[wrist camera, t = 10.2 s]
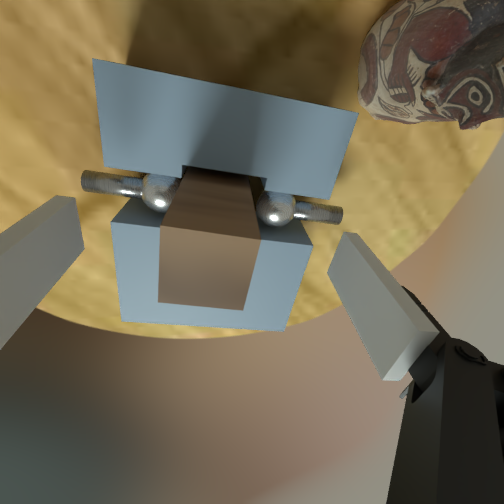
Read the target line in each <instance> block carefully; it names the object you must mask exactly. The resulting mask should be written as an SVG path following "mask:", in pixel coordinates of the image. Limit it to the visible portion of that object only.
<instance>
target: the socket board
mask: <svg viewBox="0 0 504 504" xmlns="http://www.w3.org/2000/svg"><path fill="white" fill-rule="evenodd" d="M92 61H93V70H94V79H95V88H96V97H97V106H98V115H99V124H100V132H101V141H102V150H103V159H104V167H111V168H117V169H124V170H131V171H138V172H145V173H151V174H158V175H165V176H172V177H178V178H182V176H183V174H184V172H185V170H186V168H187V166H194V167H200V168H206V169H213V170H219V171H226V172H232V173H239V174H245V175H251V176H258V177H260V178H261V181H262V184H263V187H264V190H266V191H273V192H280V193H287V194H294V195H300V196H307V197H314V198H321V199H327V200H329V199H330V196H331V193H332V190H333V187H334V184H335V181H336V178H337V175H338V172H339V170H340V167H341V164H342V161H343V158H344V155H345V152H346V149H347V146H348V143H349V140H350V138H351V135H352V132H353V129H354V126H355V123H356V120H357V117H358V114H359V113H356V112H352V111H347V110H343V109H338V108H334V107H329V106H324V105H319V104H315V103H310V102H305V101H300V100H295V99H290V98H285V97H281V96H276V95H271V94H266V93H261V92H256V91H251V90H247V89H242V88H237V87H232V86H227V85H222V84H217V83H213V82H208V81H203V80H198V79H193V78H188V77H183V76H179V75H174V74H169V73H164V72H159V71H154V70H149V69H145V68H140V67H135V66H130V65H125V64H120V63H115V62H109V61H104V60H99V59H93V58H92ZM255 212H256V211H255ZM165 214H166V213H159V212H156V211H153V210H152V209H150V208H149V207H148V206H147V205H146V204H145V203H144V201H143V200H142V199H139V198H131V199H130V200H129V201H128V202H127V203H126V204H125V206H124V207H123V208H122V209H121V210H120V211H119V213H118V214H117V215H116V216H115V217H114V218H113V220H112V221H111V231H112V240H113V249H114V258H115V267H116V276H117V285H118V293H119V302H120V311H121V320H122V321H125V322H141V323H157V324H172V325H188V326H204V327H220V328H235V329H251V330H267V331H283V332H284V329H285V327H286V324H287V321H288V318H289V315H290V312H291V309H292V306H293V303H294V300H295V298H296V295H297V292H298V289H299V286H300V283H301V280H302V277H303V274H304V271H305V268H306V266H307V263H308V260H309V257H310V254H311V251H312V248H313V244H312V242H311V241H310V239H309V237H308V235H307V233H306V231H305V229H304V227H303V225H302V223H301V221H300V220H297V219H292V220H291V221H290V222H289V223H288V224H286V225H284V226H282V227H270V226H268V225H266V224H264V223H263V222H262V221H261V220H260V218H259V217H258V215H257V212H256V217H257V222H258V227H259V232H260V236H261V243H260V247H259V251H258V255H257V259H256V263H255V267H254V270H253V274H252V278H251V282H250V286H249V290H248V294H247V298H246V302H245V306H244V309H243V311H241V310H230V309H220V308H210V307H199V306H189V305H179V304H169V303H158V279H159V245H160V225H161V222H162V220H163V218H164V216H165Z"/></svg>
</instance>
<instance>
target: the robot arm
mask: <svg viewBox="0 0 504 504" xmlns="http://www.w3.org/2000/svg"><path fill="white" fill-rule="evenodd" d="M84 249H85V248H84V243H83V238H82V232H81V227H80V222H79V216H78V211H77V206H76V200H75V198H73V197H66V196H58V195H56V196H55V197H53V198H52V199H50V200H49V201H47V202H46V203H44V204H43V205H42V206H40V207H39V208H37V209H36V210H34V211H33V212H31V213H30V214H28V215H27V216H26V217H24V218H23V219H21V220H20V221H18V222H17V223H15V224H14V225H12V226H11V227H9V228H8V229H7V230H5V231H4V232H2V233H1V234H0V349H1V348H2V347H3V346H4V344H5V343H6V342H7V341H8V340H9V338H10V337H11V336H12V335H13V334H14V333H15V331H16V330H17V329H18V328H19V327H20V325H21V324H22V323H23V322H24V321H25V319H26V318H27V317H28V316H29V315H30V313H31V312H32V311H33V310H34V309H35V307H36V306H37V305H38V304H39V303H40V301H41V300H42V299H43V298H44V297H45V295H46V294H47V293H48V292H49V291H50V290H51V288H52V287H53V286H54V285H55V284H56V282H57V281H58V280H59V279H60V278H61V276H62V275H63V274H64V273H65V272H66V270H67V269H68V268H69V267H70V266H71V264H72V263H73V262H74V261H75V260H76V258H77V257H78V256H79V255H80V254H81V252H82V251H83V250H84ZM327 274H328V276H329V278H330V280H331V282H332V284H333V285H334V287H335V289H336V291H337V293H338V295H339V297H340V299H341V301H342V303H343V305H344V307H345V309H346V311H347V313H348V315H349V317H350V319H351V321H352V323H353V324H354V326H355V328H356V330H357V332H358V334H359V336H360V338H361V340H362V342H363V344H364V346H365V348H366V350H367V352H368V354H369V355H370V358H371V360H372V362H373V363H374V365H375V367H376V369H377V371H378V373H379V375H380V377H381V379H382V380H394V381H400V380H401V379H402V378H403V376H404V375H405V374H406V373H407V372H408V371H409V373H410V374H411V376H412V378H413V380H412V382H411V383H410V384H409V385H408V386H407V387H406V389H405V390H404V391H403V392H402V394H401V395H400V398H404V396H405V395H407V398H406V404H405V409H404V414H403V419H402V424H401V429H400V435H399V440H398V445H397V450H396V455H395V460H394V466H393V471H392V476H391V481H390V486H389V491H388V497H387V502H386V504H504V365H500V364H497V363H494V362H491V361H488V359H487V358H486V357H485V356H484V354H483V353H482V352H480V351H479V350H478V349H477V348H475V347H474V346H472V345H471V344H469V343H467V342H465V341H463V340H460V339H456V338H451V337H450V336H449V334H448V333H447V332H446V331H445V330H444V329H443V327H442V326H441V325H440V324H439V323H438V322H437V321H436V320H435V318H434V317H433V316H432V315H431V314H430V313H429V312H428V310H427V309H426V308H425V307H424V305H421V302H420V301H419V300H418V298H417V297H416V296H415V295H414V294H413V293H412V292H410V291H409V290H408V289H406V288H405V287H404V286H401V285H400V284H399V283H398V282H397V281H396V279H395V278H394V277H393V276H392V275H391V273H390V272H389V271H388V270H387V269H386V267H385V266H384V265H383V264H382V263H381V261H380V260H379V259H378V258H377V257H376V256H375V254H374V253H373V252H372V251H371V250H370V248H369V247H368V246H367V245H366V244H365V242H364V241H363V240H362V239H361V238H360V236H359V235H358V234H357V233H350V232H343V235H342V237H341V240H340V242H339V245H338V247H337V250H336V252H335V254H334V257H333V259H332V262H331V264H330V267H329V269H328V272H327Z"/></svg>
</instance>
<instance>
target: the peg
mask: <svg viewBox="0 0 504 504" xmlns="http://www.w3.org/2000/svg"><path fill="white" fill-rule="evenodd" d="M260 243H261V236H260V232H259V227H258V222H257V217H256V212H255V208H254V203H253V198H252V193H251V188H250V184H249V179H248V175H245V174H239V173H232V172H226V171H219V170H213V169H206V168H200V167H194V166H189V167H188V169H187V171H186V173H185V175H184V177H183V179H182V181H181V183H180V185H179V187H178V189H177V192H176V194H175V196H174V198H173V200H172V202H171V204H170V206H169V208H168V210H167V212H166V214H165V216H164V218H163V220H162V222H161V225H160V245H159V279H158V303H169V304H179V305H189V306H199V307H210V308H220V309H230V310H241V311H243V309H244V306H245V302H246V298H247V294H248V290H249V286H250V282H251V278H252V274H253V270H254V267H255V263H256V259H257V255H258V251H259V247H260Z"/></svg>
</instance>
